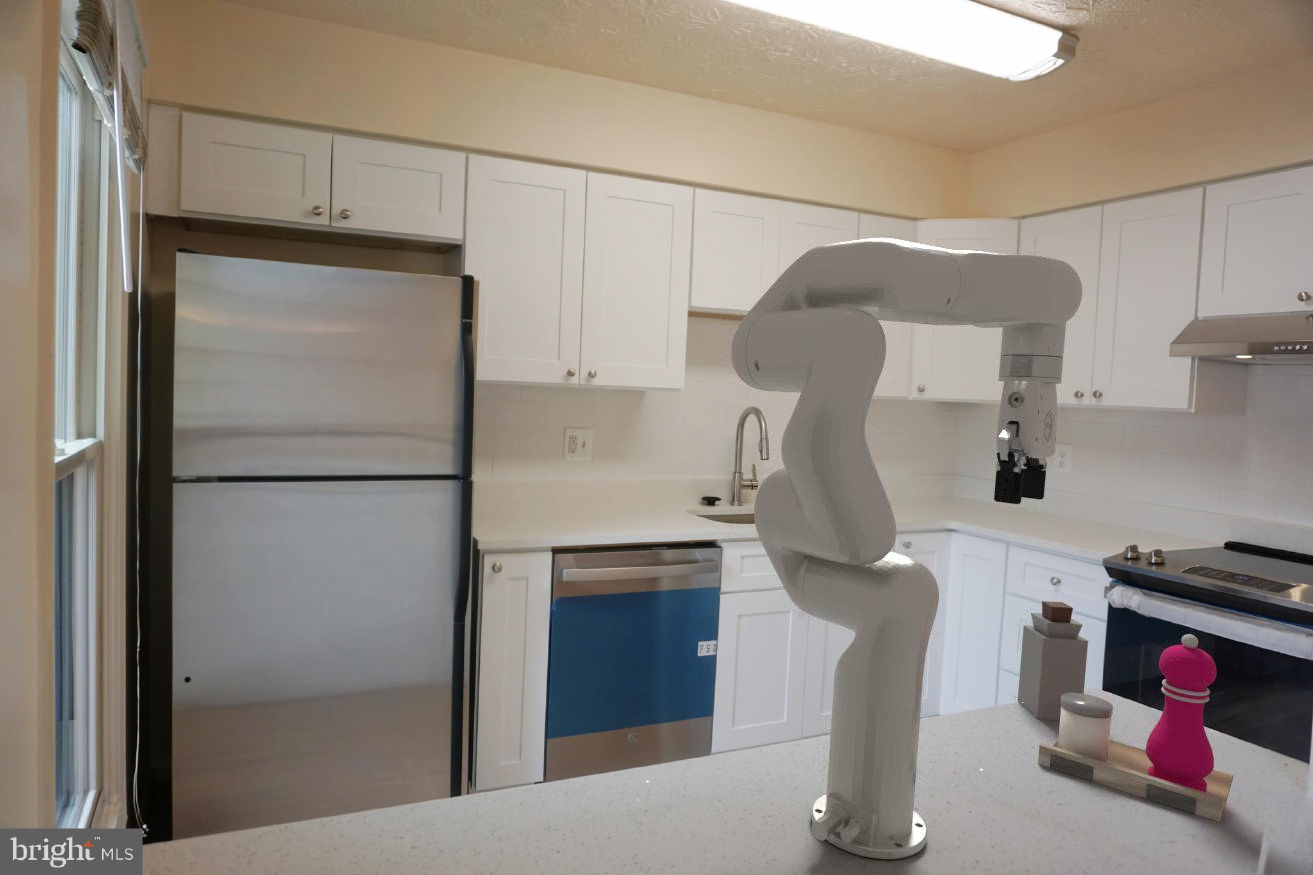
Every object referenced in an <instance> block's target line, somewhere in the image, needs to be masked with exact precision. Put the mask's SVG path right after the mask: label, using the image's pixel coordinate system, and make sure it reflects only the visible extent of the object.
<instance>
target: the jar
mask: <svg viewBox="0 0 1313 875" xmlns="http://www.w3.org/2000/svg"><path fill="white" fill-rule="evenodd" d="M1113 709H1114V706H1113V704H1112V703H1111V702H1109V701H1108V700H1107V699H1104V698H1101V697H1098V696H1095V695H1092V694H1087V693H1084V694H1082V693H1065V694H1063V695H1062V696H1061V715H1060V720H1059V727H1058V739H1057V741H1058V748H1061V749H1064V750H1067V751H1070V752H1074V753H1077V754H1080V755H1084V756H1087V757H1090V758H1093V759H1097V760H1100V761H1103V762H1107V761H1108V750H1109V740H1110V736H1111V726H1112V725H1111V724H1112V716H1113V713H1114V712H1113V711H1114V710H1113Z"/></svg>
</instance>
